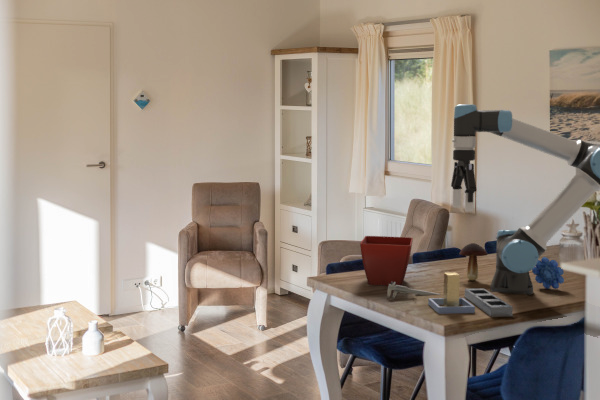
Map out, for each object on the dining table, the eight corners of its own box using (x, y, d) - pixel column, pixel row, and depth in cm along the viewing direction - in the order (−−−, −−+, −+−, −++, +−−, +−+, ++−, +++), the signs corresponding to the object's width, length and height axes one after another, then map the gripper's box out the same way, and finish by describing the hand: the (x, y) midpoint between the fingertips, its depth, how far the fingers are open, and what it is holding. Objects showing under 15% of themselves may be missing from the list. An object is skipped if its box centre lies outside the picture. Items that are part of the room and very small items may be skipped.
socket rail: (464, 299, 248) (464, 288, 248) (483, 299, 249) (484, 288, 248) (490, 319, 222) (491, 307, 222) (512, 319, 223) (512, 306, 222)
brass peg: (455, 307, 234) (455, 272, 233) (458, 311, 230) (459, 274, 229) (443, 308, 234) (444, 272, 233) (446, 311, 230) (447, 275, 229)
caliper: (387, 299, 250) (388, 281, 249) (387, 298, 251) (387, 281, 251) (444, 298, 252) (444, 280, 251) (443, 297, 253) (443, 280, 252)
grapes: (529, 289, 265) (530, 257, 264) (532, 285, 271) (533, 255, 270) (562, 292, 259) (563, 260, 258) (564, 289, 265) (565, 257, 264)
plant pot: (409, 289, 265) (410, 244, 263) (359, 286, 268) (359, 243, 267) (412, 278, 283) (412, 237, 282) (364, 276, 287) (365, 235, 285)
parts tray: (462, 306, 239) (463, 297, 238) (474, 315, 227) (474, 306, 227) (428, 307, 238) (428, 298, 237) (438, 316, 226) (438, 307, 225)
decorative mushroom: (455, 281, 278) (456, 244, 276) (462, 276, 287) (463, 240, 286) (483, 284, 273) (484, 246, 271) (489, 279, 282) (490, 242, 281)
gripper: (443, 148, 258) (442, 205, 260) (465, 150, 233) (463, 213, 235) (463, 148, 258) (461, 205, 260) (487, 150, 233) (485, 213, 236)
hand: (462, 209), depth 248 cm, fingers open, 13 cm apart
